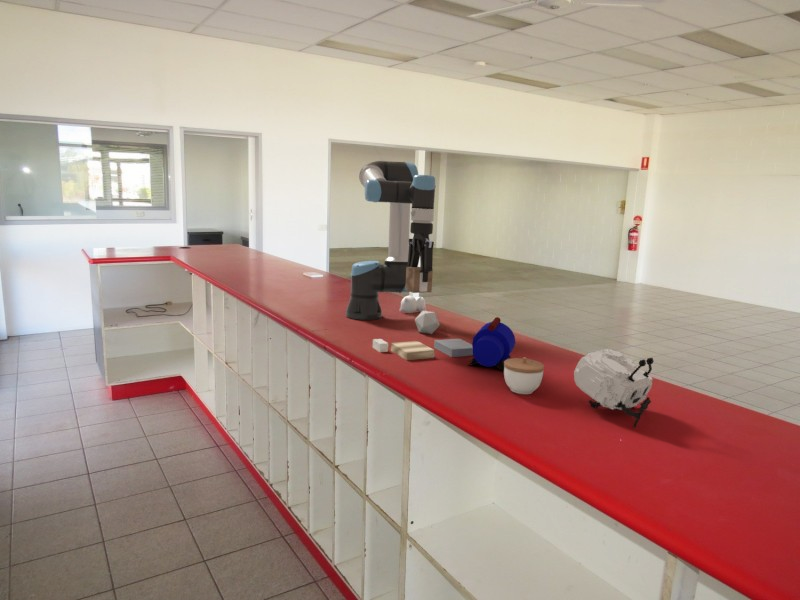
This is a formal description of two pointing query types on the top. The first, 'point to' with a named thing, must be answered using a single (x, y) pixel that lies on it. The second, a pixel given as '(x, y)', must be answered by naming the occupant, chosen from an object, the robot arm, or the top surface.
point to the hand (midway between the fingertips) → (418, 289)
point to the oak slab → (412, 350)
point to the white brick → (380, 345)
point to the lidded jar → (523, 374)
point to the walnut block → (416, 280)
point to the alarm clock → (493, 344)
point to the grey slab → (454, 347)
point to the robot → (614, 381)
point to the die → (427, 322)
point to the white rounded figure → (412, 304)
